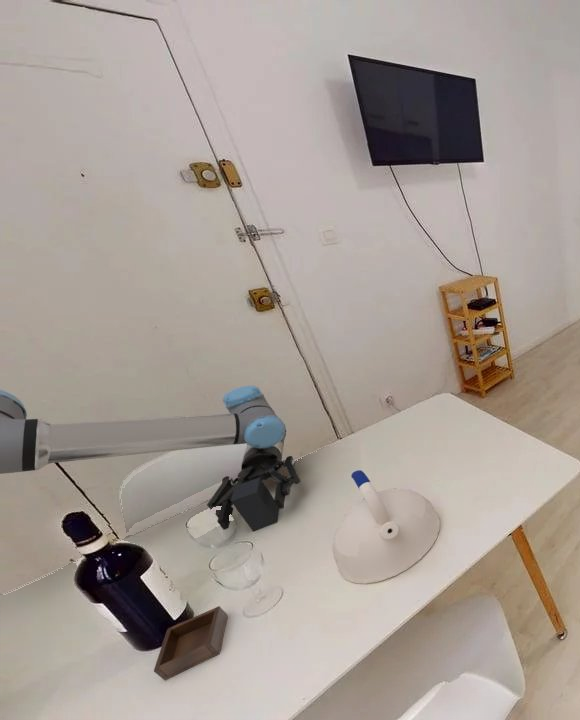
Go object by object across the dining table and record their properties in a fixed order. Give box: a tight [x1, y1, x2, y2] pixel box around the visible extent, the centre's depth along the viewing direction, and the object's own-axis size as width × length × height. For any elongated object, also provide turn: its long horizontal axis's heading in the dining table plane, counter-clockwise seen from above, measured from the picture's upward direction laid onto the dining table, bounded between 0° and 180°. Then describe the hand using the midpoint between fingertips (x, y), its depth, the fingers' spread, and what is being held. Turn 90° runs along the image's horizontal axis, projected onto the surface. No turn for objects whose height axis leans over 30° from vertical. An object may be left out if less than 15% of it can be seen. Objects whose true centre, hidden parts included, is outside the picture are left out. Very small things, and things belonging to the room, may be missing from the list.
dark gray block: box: [231, 478, 280, 532], centre depth 94 cm, size 4×6×10 cm
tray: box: [153, 605, 229, 681], centre depth 72 cm, size 7×8×3 cm
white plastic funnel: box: [331, 469, 441, 585], centre depth 86 cm, size 20×21×18 cm
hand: (251, 514), depth 91 cm, fingers open, 9 cm apart
